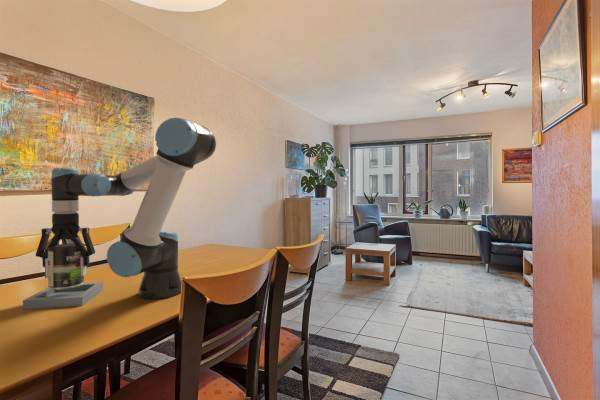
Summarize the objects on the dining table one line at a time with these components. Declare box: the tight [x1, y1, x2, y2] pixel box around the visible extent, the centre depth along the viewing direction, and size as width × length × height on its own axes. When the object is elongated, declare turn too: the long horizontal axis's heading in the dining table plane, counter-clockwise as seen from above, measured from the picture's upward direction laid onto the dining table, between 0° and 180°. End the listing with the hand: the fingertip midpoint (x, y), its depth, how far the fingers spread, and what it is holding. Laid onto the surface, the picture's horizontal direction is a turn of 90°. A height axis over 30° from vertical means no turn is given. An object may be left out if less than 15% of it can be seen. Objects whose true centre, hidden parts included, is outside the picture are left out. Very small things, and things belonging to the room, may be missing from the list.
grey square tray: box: [22, 281, 104, 310], centre depth 110 cm, size 17×17×3 cm
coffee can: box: [46, 242, 85, 290], centre depth 110 cm, size 10×10×14 cm
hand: (66, 275), depth 110 cm, fingers closed on coffee can, 10 cm apart
